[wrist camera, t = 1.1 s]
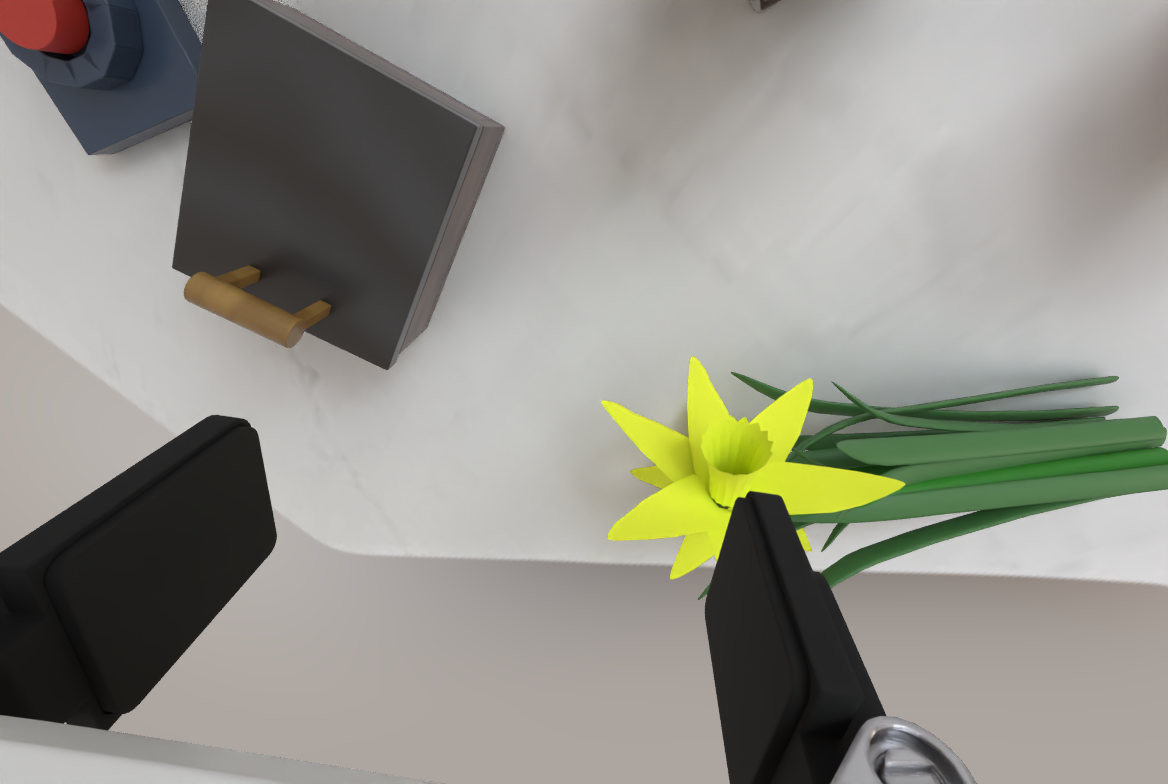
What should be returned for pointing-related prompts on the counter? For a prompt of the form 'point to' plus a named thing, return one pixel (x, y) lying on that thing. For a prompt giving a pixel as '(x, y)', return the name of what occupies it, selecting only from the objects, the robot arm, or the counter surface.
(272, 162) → the dark slab with handle
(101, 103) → the blue button base
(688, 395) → the daffodil flowers
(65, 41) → the red push button
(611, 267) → the counter surface
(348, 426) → the counter surface
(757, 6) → the coffee box
